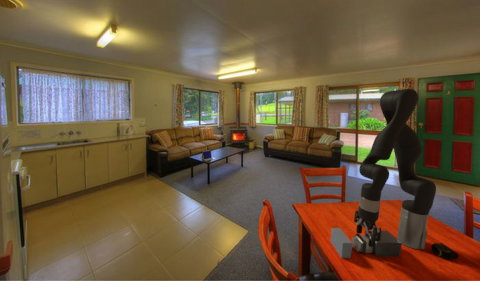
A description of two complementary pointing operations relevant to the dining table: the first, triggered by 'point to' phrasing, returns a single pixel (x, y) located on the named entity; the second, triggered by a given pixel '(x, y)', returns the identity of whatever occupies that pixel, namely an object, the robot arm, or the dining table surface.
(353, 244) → the light grey square bar
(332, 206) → the dining table surface
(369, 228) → the robot arm
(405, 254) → the dining table surface
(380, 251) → the sleeve
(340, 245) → the grey block
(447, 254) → the tape measure
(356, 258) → the dining table surface
